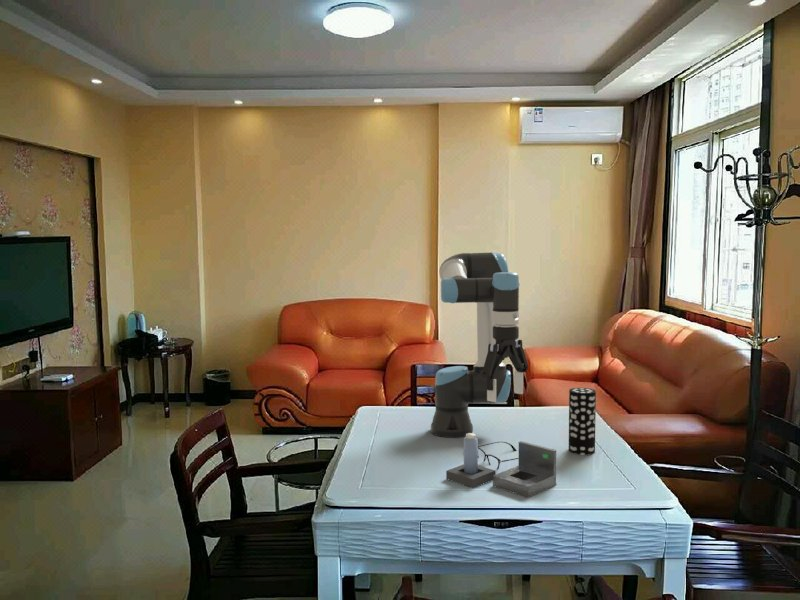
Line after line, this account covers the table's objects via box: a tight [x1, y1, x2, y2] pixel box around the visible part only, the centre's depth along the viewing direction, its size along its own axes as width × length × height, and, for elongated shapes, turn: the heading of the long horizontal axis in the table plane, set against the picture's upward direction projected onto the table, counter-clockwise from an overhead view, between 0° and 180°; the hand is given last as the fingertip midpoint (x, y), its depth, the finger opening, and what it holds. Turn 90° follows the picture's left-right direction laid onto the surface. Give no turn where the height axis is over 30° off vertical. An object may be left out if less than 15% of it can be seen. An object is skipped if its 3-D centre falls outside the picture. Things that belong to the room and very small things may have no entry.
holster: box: [445, 463, 496, 489], centre depth 192 cm, size 10×10×2 cm
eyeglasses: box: [478, 441, 519, 470], centre depth 208 cm, size 16×16×4 cm
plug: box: [463, 432, 479, 475], centre depth 191 cm, size 4×4×13 cm
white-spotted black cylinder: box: [568, 387, 597, 456], centre depth 215 cm, size 8×8×20 cm
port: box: [492, 440, 557, 499], centre depth 186 cm, size 12×13×10 cm
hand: (505, 397), depth 195 cm, fingers open, 13 cm apart
